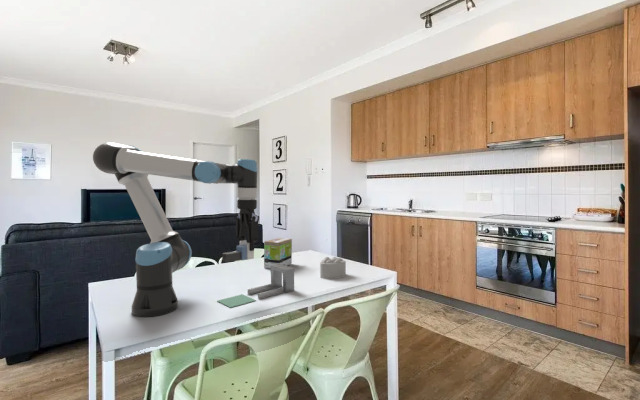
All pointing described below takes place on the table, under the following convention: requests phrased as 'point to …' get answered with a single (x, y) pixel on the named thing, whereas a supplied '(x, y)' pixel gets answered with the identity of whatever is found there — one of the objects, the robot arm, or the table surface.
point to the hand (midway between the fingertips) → (246, 257)
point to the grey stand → (276, 282)
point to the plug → (236, 254)
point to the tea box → (277, 252)
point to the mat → (236, 301)
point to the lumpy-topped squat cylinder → (332, 268)
